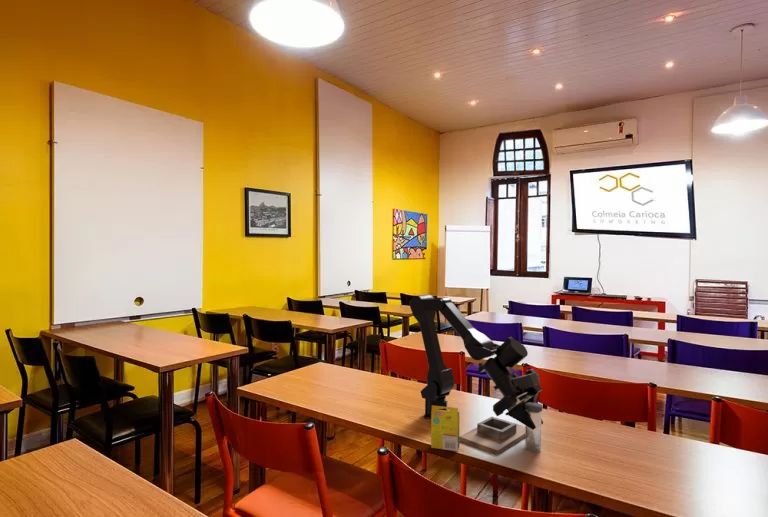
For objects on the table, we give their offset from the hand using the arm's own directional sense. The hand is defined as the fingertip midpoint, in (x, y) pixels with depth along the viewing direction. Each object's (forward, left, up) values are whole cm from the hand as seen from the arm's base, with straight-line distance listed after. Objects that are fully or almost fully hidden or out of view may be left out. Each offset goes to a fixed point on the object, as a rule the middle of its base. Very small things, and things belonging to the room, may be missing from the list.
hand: (538, 426), depth 119 cm
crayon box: (-24, -5, -7) cm, 26 cm away
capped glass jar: (-1, +1, -7) cm, 7 cm away
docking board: (-11, +6, -7) cm, 14 cm away
